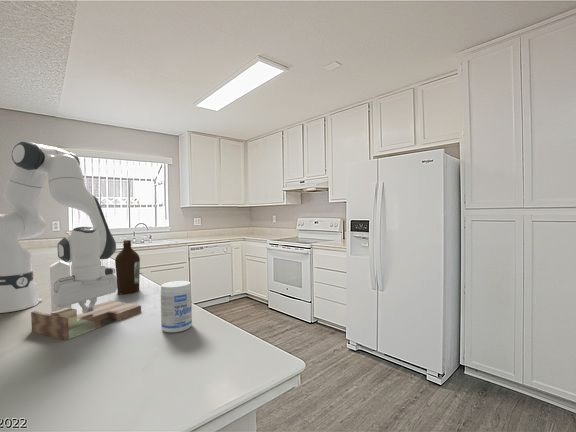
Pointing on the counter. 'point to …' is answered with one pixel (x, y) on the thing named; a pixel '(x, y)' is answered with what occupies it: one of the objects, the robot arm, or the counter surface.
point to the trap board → (82, 320)
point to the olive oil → (127, 269)
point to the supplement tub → (176, 306)
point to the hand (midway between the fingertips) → (88, 311)
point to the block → (67, 314)
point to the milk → (57, 272)
